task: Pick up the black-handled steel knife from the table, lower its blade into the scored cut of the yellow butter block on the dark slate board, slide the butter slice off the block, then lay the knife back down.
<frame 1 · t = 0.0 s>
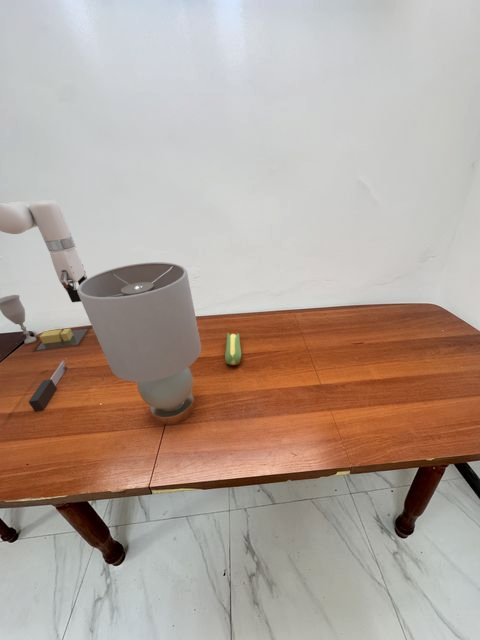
hand: (82, 295, 101), 17 cm above the table, tool pointing down, fingers open, 9 cm apart
slate board: (64, 342, 109), on the table
butter slice: (68, 338, 109), point 1 cm above the table, touching slate board
edible corn: (234, 352, 98), on the table
knife: (54, 387, 87), on the table
butter block: (54, 340, 108), point 1 cm above the table, touching slate board
lamp: (174, 409, 77), on the table
chalice: (32, 344, 110), on the table
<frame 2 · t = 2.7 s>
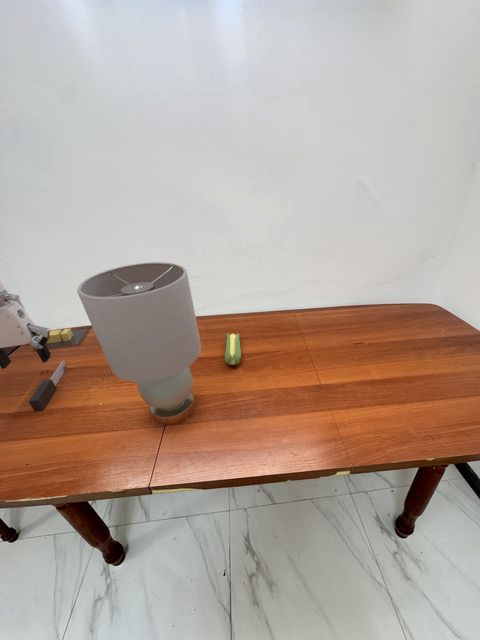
hand: (27, 362, 76), 12 cm above the table, tool pointing down, fingers open, 9 cm apart
nothing on the table moved.
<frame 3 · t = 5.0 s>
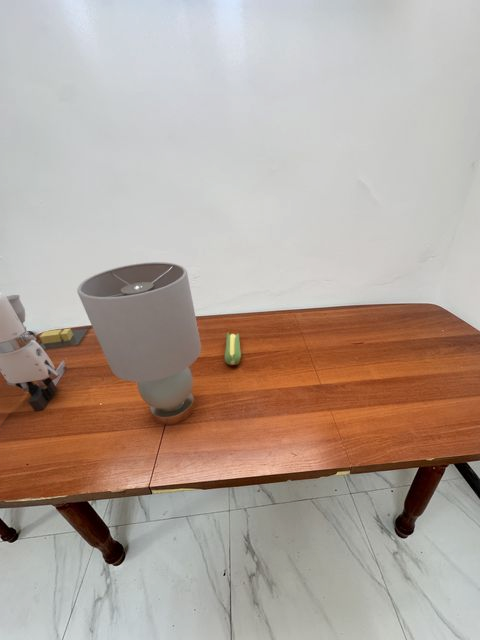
hand: (45, 397, 82), 1 cm above the table, tool pointing down, fingers closed on knife, 2 cm apart
knife: (54, 387, 87), on the table, touching gripper
everything else where it was.
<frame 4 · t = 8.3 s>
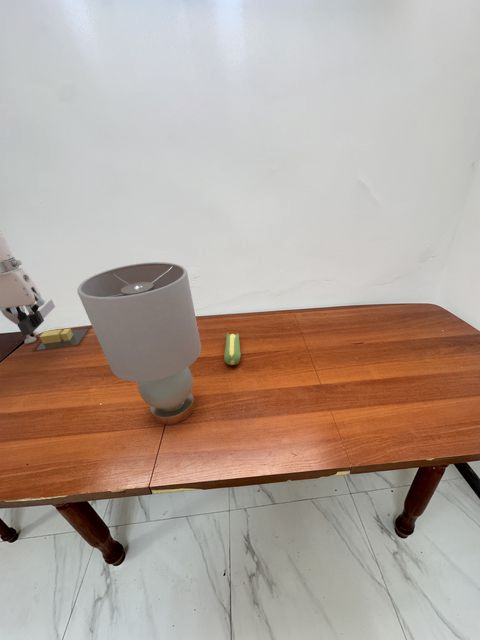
hand: (32, 325, 91), 14 cm above the table, tool pointing down, fingers closed on knife
knife: (42, 319, 96), point 13 cm above the table, touching gripper
everything else where it was.
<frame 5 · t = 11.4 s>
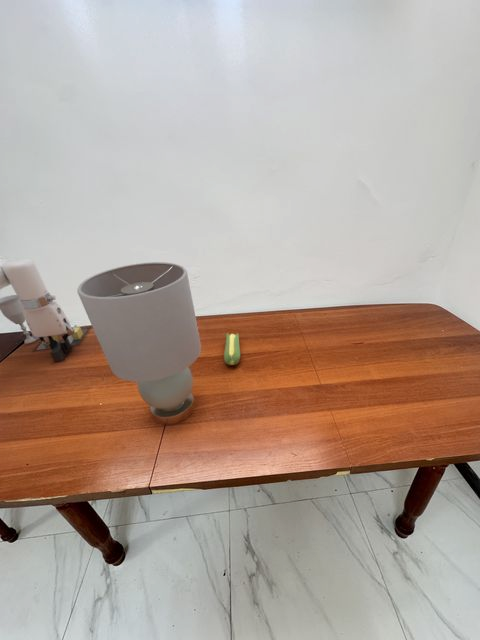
hand: (62, 351, 99), 3 cm above the table, tool pointing down, fingers closed on knife, 2 cm apart
butter slice: (78, 336, 109), point 2 cm above the table, touching knife, slate board
knife: (69, 345, 104), point 2 cm above the table, touching butter slice, gripper
everything else where it was.
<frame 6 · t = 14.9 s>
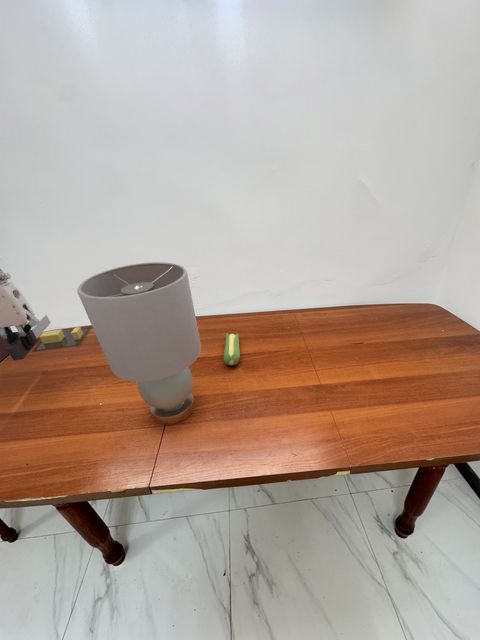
hand: (24, 347, 77), 15 cm above the table, tool pointing down, fingers closed on knife
butter slice: (78, 336, 109), point 1 cm above the table, touching slate board
knife: (35, 339, 82), point 14 cm above the table, touching gripper
everything else where it was.
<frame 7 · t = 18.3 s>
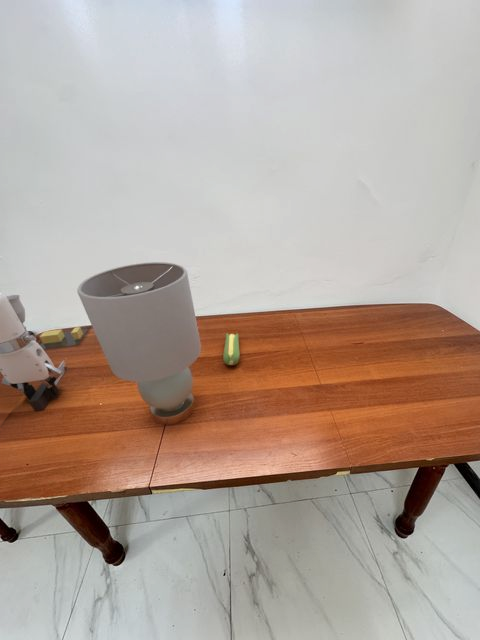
hand: (44, 397, 82), 1 cm above the table, tool pointing down, fingers open, 4 cm apart
knife: (54, 387, 87), on the table
everything else where it was.
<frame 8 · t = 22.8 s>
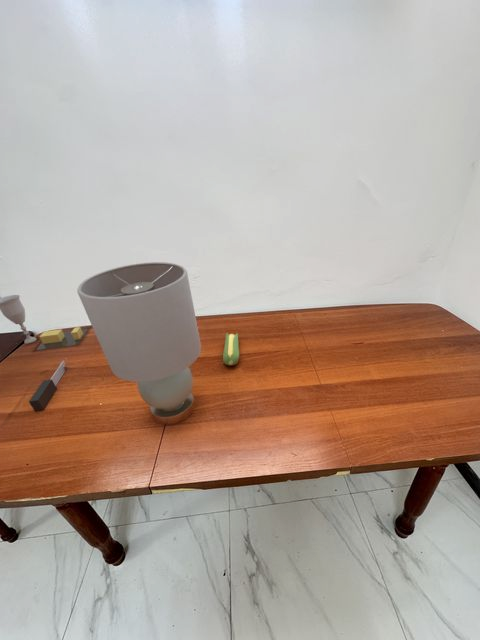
nothing on the table moved.
at the end: butter slice 0.2 cm from the target spot on the slate board, point 1.5 cm above the slate board's base; butter slice tilted 0°; the gripper is holding nothing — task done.
